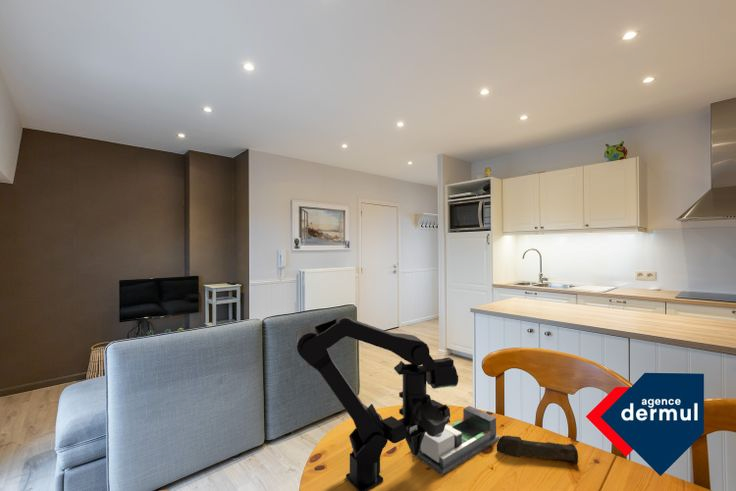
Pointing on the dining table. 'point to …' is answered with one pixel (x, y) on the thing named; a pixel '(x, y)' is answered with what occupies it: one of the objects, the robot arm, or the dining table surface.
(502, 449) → the hand tool
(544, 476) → the dining table surface
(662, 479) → the dining table surface
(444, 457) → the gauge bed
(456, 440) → the white flat block
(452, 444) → the knobbed white cube
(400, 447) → the dining table surface
